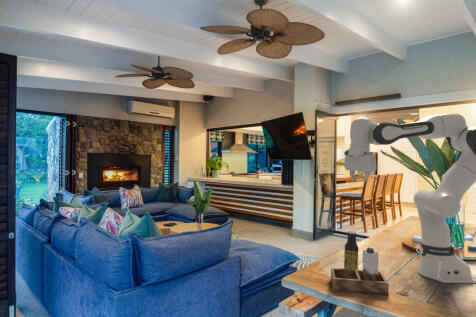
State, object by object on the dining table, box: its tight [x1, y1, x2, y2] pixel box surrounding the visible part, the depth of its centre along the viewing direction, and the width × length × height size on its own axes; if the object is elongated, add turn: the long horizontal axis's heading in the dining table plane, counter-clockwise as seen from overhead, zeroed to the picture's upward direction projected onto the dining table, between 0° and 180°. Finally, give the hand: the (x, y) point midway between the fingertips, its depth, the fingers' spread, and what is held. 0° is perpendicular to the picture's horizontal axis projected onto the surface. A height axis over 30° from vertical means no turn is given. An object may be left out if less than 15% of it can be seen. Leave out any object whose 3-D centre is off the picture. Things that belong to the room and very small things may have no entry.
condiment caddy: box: [330, 267, 390, 296], centre depth 125 cm, size 21×12×5 cm, turn 77°
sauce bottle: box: [343, 231, 359, 270], centre depth 138 cm, size 6×6×20 cm
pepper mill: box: [362, 246, 379, 281], centre depth 124 cm, size 6×6×16 cm
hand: (359, 180), depth 143 cm, fingers open, 8 cm apart
